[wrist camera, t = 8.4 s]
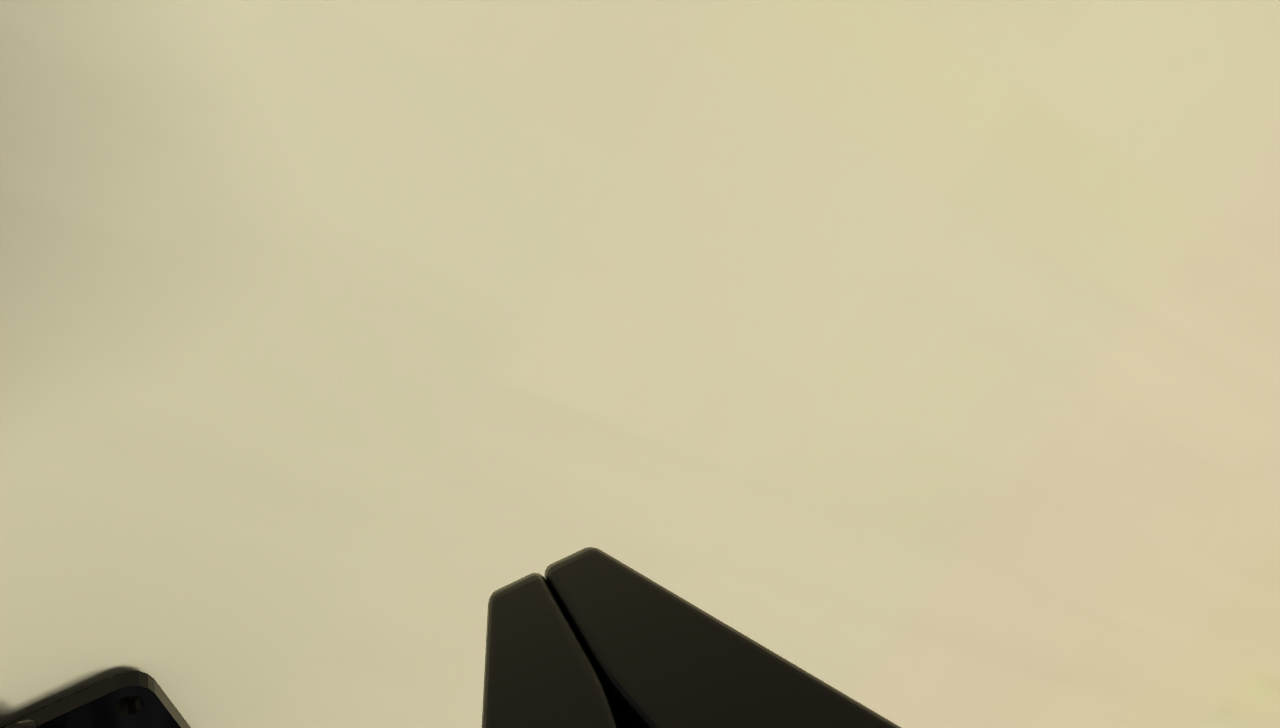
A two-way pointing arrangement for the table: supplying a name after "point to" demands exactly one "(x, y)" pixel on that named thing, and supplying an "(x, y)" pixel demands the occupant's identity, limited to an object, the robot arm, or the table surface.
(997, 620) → the table surface
